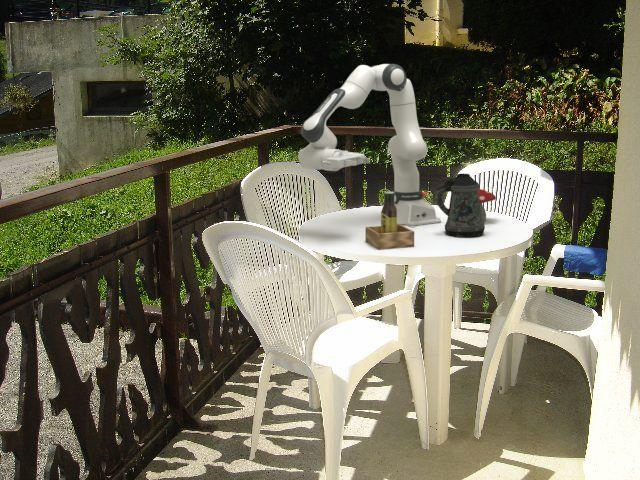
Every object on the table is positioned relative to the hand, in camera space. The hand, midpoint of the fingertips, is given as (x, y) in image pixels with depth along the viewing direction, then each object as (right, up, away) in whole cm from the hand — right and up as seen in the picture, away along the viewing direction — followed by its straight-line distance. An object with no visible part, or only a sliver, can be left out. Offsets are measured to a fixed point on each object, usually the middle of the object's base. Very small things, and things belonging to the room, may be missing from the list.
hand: (362, 161), depth 308 cm
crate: (+11, -33, 0) cm, 34 cm away
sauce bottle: (+10, -32, 0) cm, 33 cm away
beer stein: (+42, -29, +16) cm, 53 cm away
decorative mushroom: (+54, -23, +41) cm, 71 cm away
